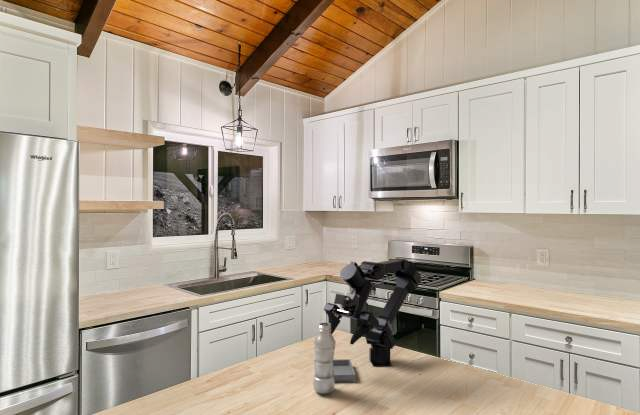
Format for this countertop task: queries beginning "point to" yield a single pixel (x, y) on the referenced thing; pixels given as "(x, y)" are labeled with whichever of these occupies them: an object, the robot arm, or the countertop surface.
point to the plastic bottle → (324, 360)
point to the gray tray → (343, 370)
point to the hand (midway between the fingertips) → (339, 340)
